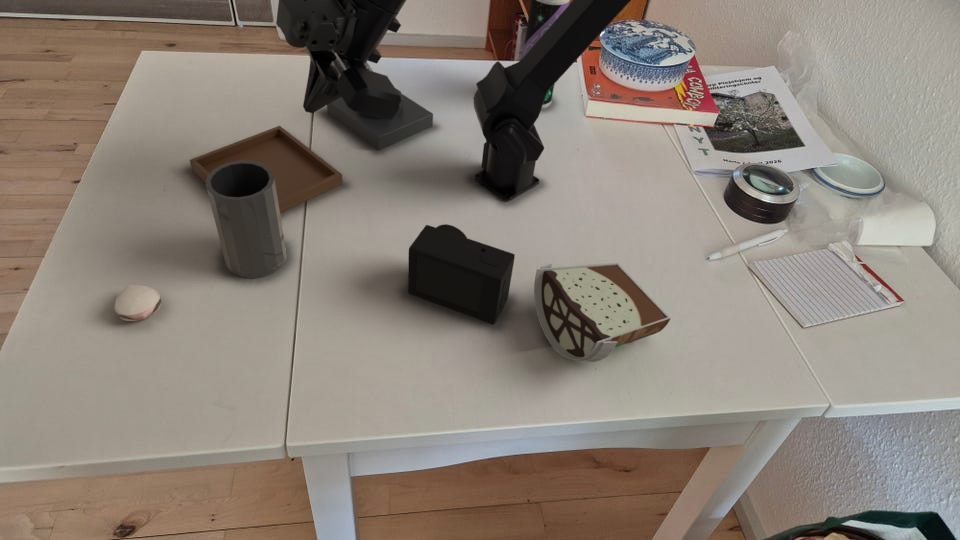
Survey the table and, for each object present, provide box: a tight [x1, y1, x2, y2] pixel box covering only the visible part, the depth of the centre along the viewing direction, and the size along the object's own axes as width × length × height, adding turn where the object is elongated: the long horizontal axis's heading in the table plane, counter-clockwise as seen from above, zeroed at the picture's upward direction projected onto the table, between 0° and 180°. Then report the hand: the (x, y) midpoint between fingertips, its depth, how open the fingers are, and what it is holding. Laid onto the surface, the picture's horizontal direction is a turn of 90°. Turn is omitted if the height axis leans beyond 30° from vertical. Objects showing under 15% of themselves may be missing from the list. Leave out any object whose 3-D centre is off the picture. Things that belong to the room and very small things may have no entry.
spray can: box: [522, 0, 571, 110], centre depth 99 cm, size 6×6×20 cm
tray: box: [189, 125, 344, 214], centre depth 85 cm, size 14×13×2 cm
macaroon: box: [113, 283, 162, 322], centre depth 68 cm, size 4×5×2 cm
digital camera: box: [407, 224, 516, 325], centre depth 72 cm, size 10×5×7 cm, turn 68°
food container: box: [533, 262, 672, 363], centre depth 70 cm, size 12×6×10 cm
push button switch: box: [326, 87, 434, 151], centre depth 96 cm, size 12×10×4 cm
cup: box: [205, 161, 287, 279], centre depth 72 cm, size 7×7×11 cm
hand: (307, 110), depth 77 cm, fingers closed
